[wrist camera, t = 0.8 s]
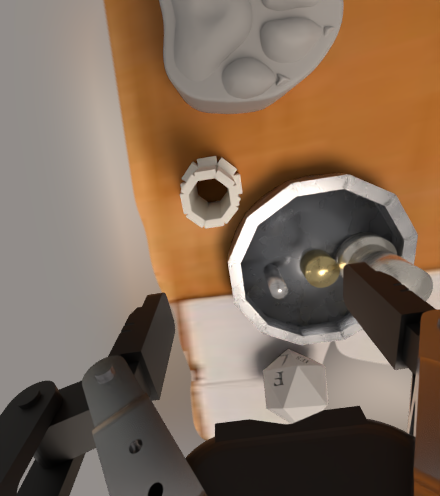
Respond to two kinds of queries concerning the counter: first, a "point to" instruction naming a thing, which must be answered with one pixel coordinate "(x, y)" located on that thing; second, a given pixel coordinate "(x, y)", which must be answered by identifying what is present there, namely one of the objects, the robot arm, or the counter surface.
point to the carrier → (318, 254)
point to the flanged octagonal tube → (199, 207)
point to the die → (295, 386)
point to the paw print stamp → (244, 49)
